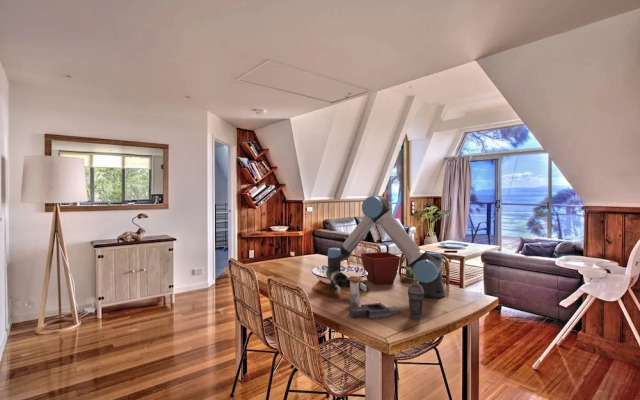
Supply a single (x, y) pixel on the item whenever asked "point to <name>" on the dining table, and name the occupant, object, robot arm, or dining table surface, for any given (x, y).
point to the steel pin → (354, 291)
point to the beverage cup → (415, 300)
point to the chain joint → (373, 311)
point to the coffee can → (409, 271)
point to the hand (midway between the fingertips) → (353, 289)
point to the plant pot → (380, 267)
